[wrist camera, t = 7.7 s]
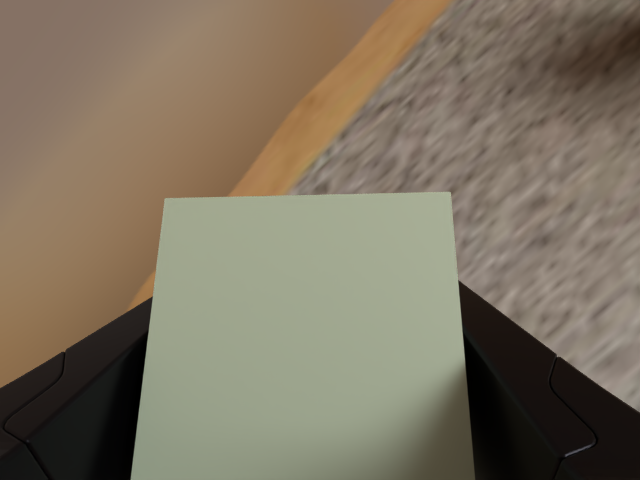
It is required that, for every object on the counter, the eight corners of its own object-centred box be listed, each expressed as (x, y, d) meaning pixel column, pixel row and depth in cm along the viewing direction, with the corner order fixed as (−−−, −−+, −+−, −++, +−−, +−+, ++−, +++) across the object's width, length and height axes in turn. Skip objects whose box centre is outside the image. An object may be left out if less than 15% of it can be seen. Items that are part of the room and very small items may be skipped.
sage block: (397, 415, 15) (479, 536, 5) (270, 412, 16) (125, 519, 6) (392, 287, 17) (450, 192, 7) (275, 287, 17) (164, 198, 7)
